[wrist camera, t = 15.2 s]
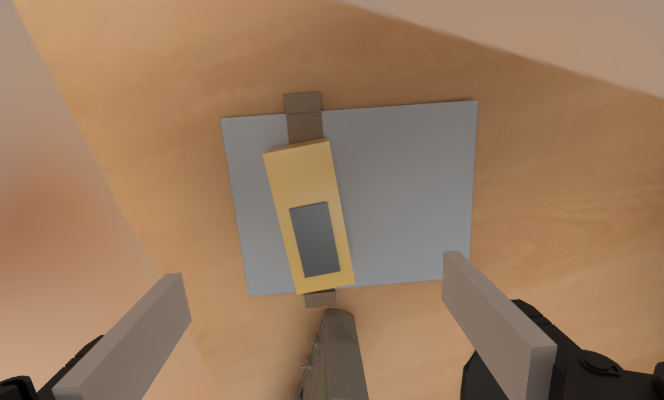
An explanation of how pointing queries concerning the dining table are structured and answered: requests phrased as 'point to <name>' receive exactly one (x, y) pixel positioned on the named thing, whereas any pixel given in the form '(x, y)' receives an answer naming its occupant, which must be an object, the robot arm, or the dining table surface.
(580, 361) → the robot arm
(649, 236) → the dining table surface
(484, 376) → the curved wedge
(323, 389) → the geiger counter
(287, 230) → the stud finder block
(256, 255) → the subfloor panel
